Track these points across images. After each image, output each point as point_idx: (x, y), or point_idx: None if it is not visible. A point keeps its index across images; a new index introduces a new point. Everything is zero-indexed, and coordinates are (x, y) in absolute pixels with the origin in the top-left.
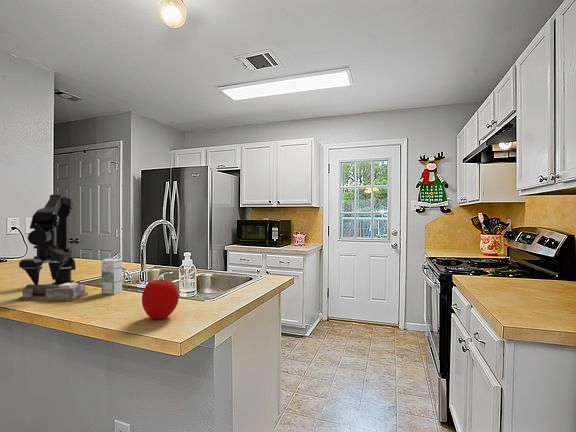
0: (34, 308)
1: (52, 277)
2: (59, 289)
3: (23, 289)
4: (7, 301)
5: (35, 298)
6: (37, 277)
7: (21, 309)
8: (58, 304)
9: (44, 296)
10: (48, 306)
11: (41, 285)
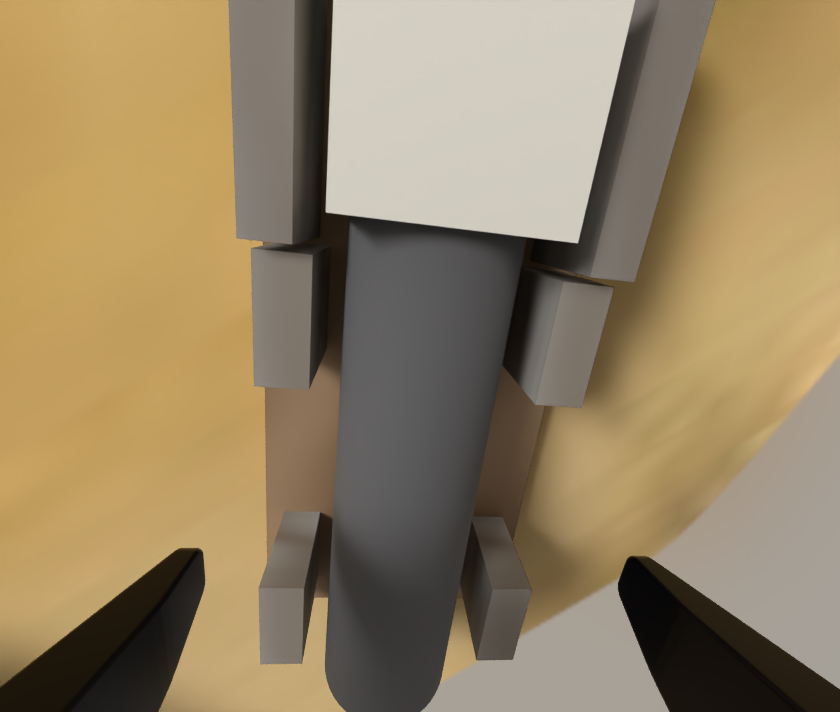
0: (836, 265)
1: (186, 635)
2: (657, 166)
3: (514, 651)
4: None
5: (527, 455)
6: (820, 685)
7: (824, 363)
8: (758, 80)
9: None
10: (810, 158)
11: (434, 566)
